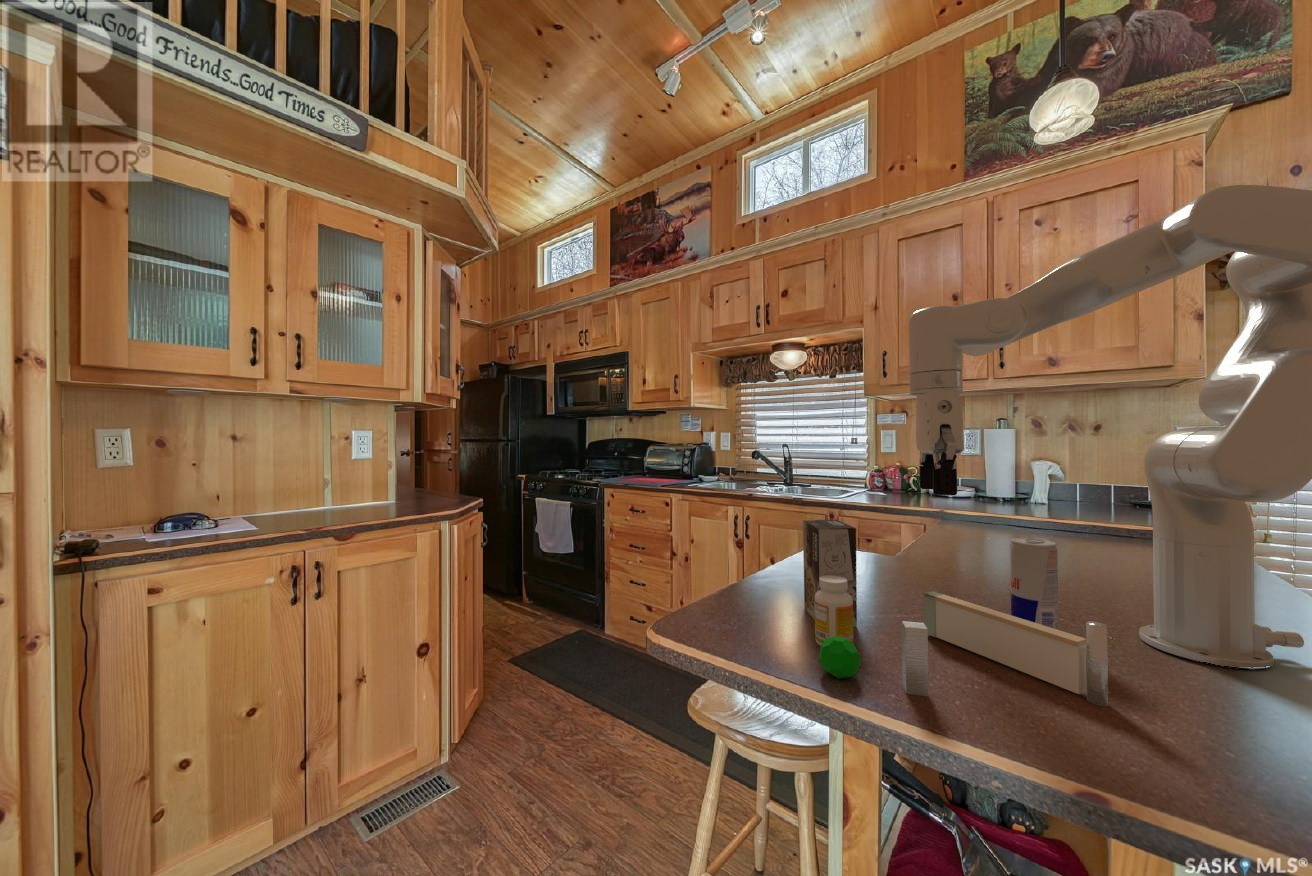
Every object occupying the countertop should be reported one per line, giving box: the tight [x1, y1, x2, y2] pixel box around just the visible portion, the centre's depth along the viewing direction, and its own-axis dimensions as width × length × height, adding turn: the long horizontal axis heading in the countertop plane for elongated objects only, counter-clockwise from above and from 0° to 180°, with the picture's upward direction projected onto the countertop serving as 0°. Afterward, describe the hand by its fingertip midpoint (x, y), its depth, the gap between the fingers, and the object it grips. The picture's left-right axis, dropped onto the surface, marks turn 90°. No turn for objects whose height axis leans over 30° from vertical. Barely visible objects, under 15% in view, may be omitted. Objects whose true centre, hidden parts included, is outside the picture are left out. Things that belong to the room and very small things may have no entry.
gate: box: [923, 590, 1087, 695], centre depth 66 cm, size 20×2×6 cm, turn 24°
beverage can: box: [1009, 537, 1059, 630], centre depth 73 cm, size 6×6×15 cm
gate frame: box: [901, 620, 1109, 707], centre depth 57 cm, size 22×2×9 cm, turn 81°
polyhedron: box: [818, 636, 861, 679], centre depth 63 cm, size 5×5×5 cm
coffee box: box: [802, 519, 858, 628], centre depth 83 cm, size 9×6×16 cm
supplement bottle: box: [814, 575, 854, 647], centre depth 72 cm, size 5×5×10 cm
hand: (937, 491), depth 79 cm, fingers open, 7 cm apart
